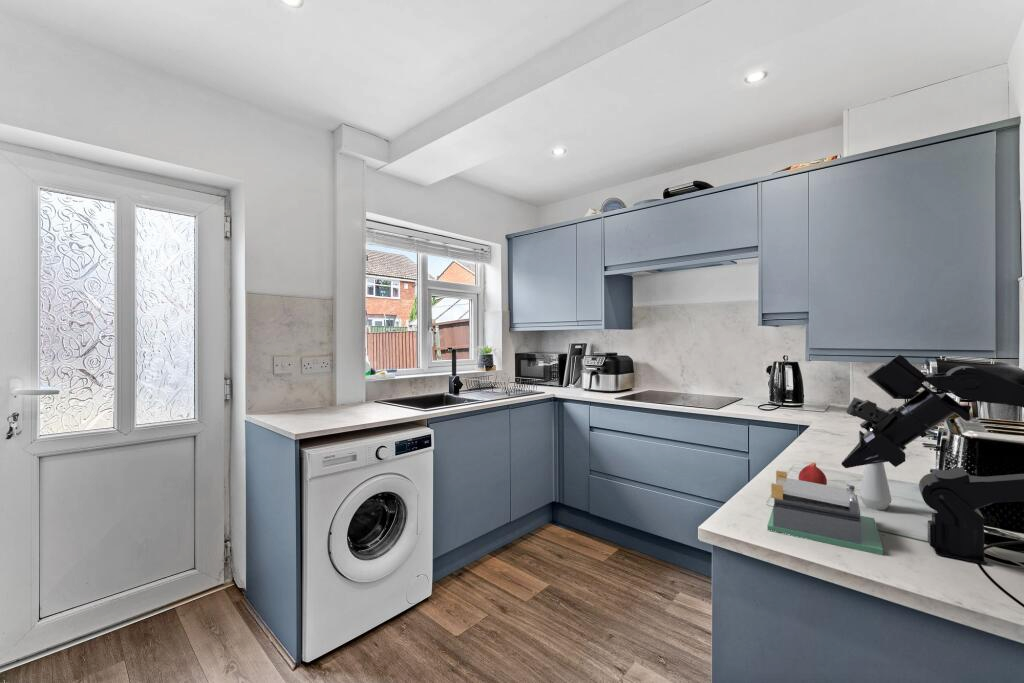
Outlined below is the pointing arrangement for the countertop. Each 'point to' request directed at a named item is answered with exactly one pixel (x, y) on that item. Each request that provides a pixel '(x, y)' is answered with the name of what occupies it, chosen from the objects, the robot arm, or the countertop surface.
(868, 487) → the salt shaker
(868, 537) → the processor board
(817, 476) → the onion
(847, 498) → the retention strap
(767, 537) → the countertop surface
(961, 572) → the countertop surface
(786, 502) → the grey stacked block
